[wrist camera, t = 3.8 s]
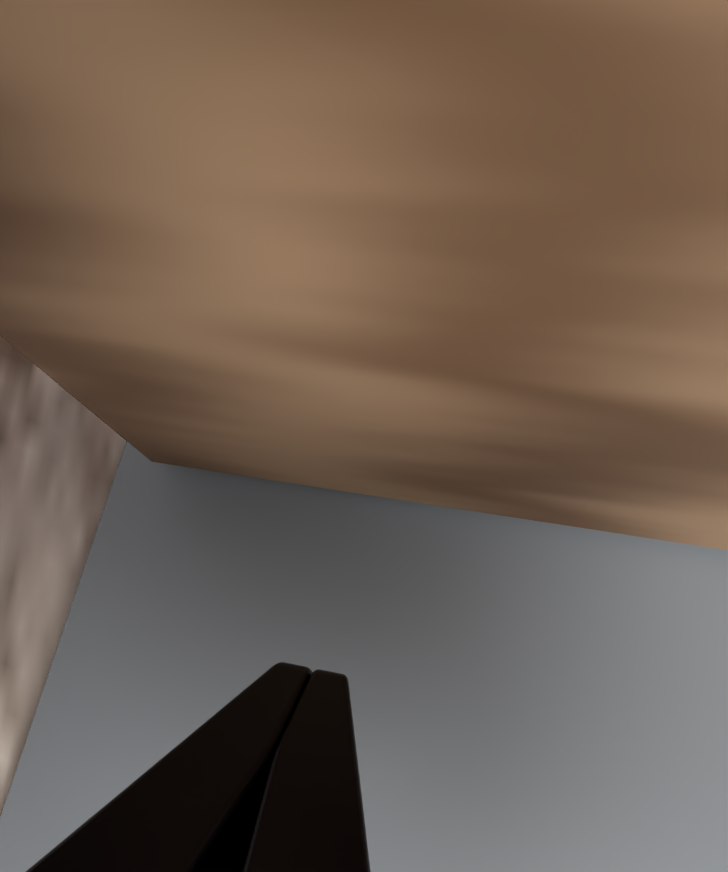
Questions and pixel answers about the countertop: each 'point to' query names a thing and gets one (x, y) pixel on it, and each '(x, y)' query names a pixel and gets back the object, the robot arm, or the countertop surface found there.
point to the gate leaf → (385, 244)
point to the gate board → (400, 671)
